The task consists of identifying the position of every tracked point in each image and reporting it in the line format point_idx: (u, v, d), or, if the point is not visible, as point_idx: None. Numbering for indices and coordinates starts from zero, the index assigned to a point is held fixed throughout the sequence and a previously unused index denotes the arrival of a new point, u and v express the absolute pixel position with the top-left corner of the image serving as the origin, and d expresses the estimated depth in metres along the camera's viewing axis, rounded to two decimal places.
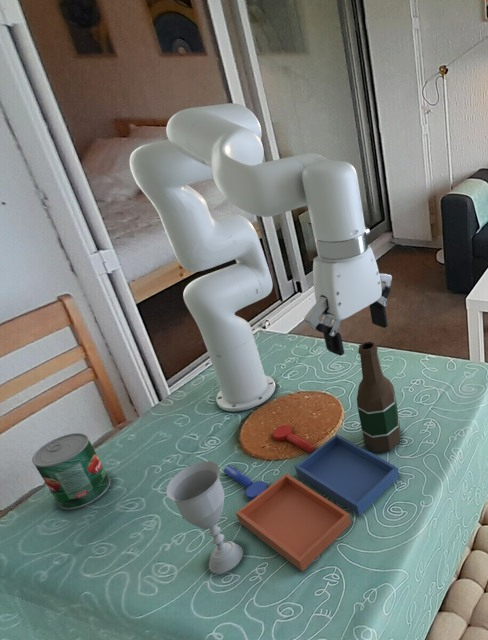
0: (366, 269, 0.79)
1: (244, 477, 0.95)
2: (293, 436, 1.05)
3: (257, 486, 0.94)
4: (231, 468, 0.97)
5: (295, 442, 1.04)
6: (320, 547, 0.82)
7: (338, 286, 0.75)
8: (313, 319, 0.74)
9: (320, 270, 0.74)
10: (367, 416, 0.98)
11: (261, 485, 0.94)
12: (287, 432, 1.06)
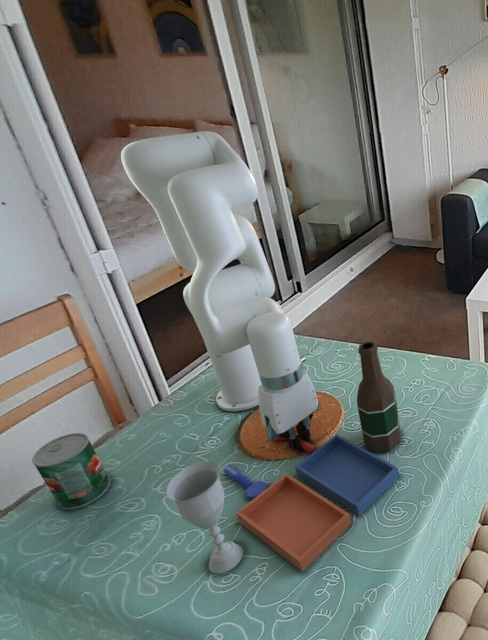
0: (302, 391, 0.98)
1: (244, 477, 0.95)
2: None
3: (257, 486, 0.94)
4: (231, 468, 0.97)
5: None
6: (320, 547, 0.82)
7: (277, 409, 0.94)
8: (273, 437, 0.97)
9: (263, 397, 0.94)
10: (367, 416, 0.98)
11: (261, 485, 0.94)
12: None
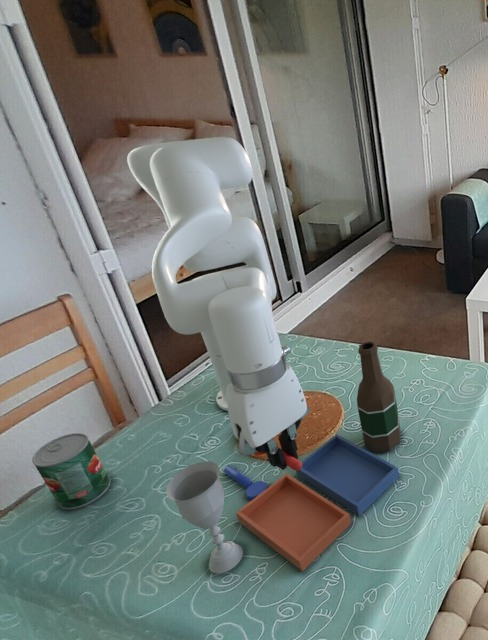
0: (285, 391, 0.75)
1: (244, 477, 0.95)
2: None
3: (257, 486, 0.94)
4: (231, 468, 0.97)
5: None
6: (320, 547, 0.82)
7: (252, 415, 0.72)
8: (247, 451, 0.74)
9: (232, 400, 0.71)
10: (367, 416, 0.98)
11: (261, 485, 0.94)
12: None
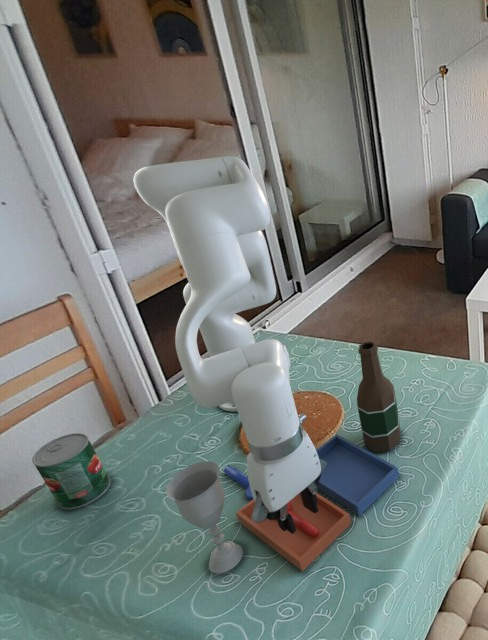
0: (302, 458, 0.80)
1: (244, 477, 0.95)
2: (293, 515, 0.87)
3: None
4: (231, 468, 0.97)
5: (296, 523, 0.86)
6: (320, 547, 0.82)
7: (271, 484, 0.76)
8: (259, 518, 0.77)
9: (252, 469, 0.75)
10: (367, 416, 0.98)
11: None
12: None
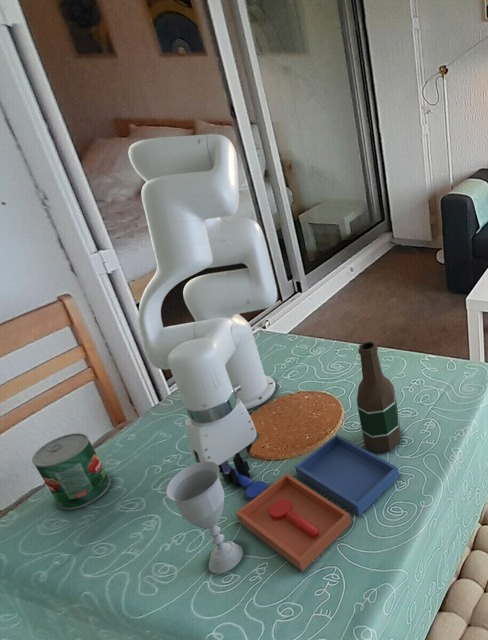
0: (236, 422, 0.91)
1: (244, 477, 0.95)
2: (293, 515, 0.87)
3: (257, 486, 0.94)
4: None
5: (296, 523, 0.86)
6: (320, 547, 0.82)
7: (206, 444, 0.87)
8: None
9: (189, 431, 0.86)
10: (367, 416, 0.98)
11: (261, 485, 0.94)
12: (286, 509, 0.89)
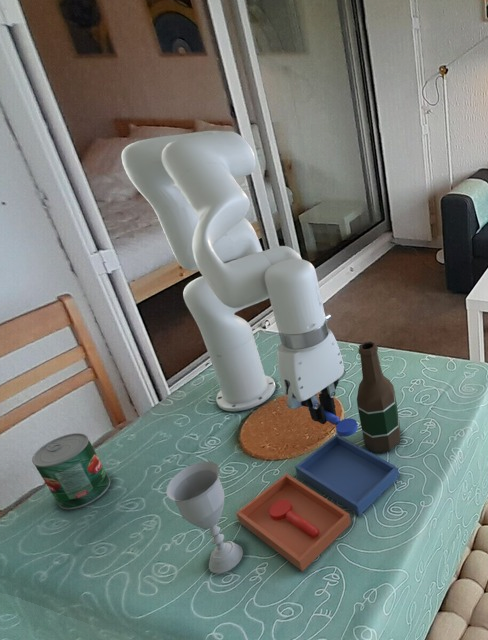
0: (327, 353, 0.86)
1: (331, 414, 0.90)
2: (293, 515, 0.87)
3: (346, 423, 0.89)
4: None
5: (296, 523, 0.86)
6: (320, 547, 0.82)
7: (300, 372, 0.82)
8: (294, 405, 0.84)
9: (283, 358, 0.81)
10: (367, 416, 0.98)
11: (351, 422, 0.89)
12: (286, 509, 0.89)
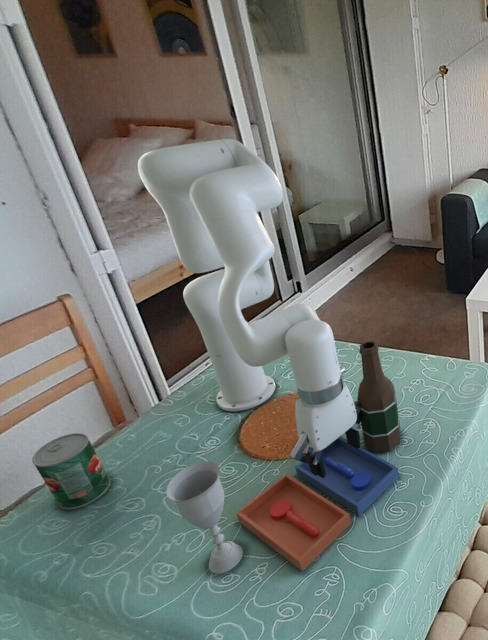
0: (342, 405, 0.91)
1: (347, 468, 0.96)
2: (293, 515, 0.87)
3: (361, 477, 0.95)
4: (332, 459, 0.98)
5: (296, 523, 0.86)
6: (320, 547, 0.82)
7: (317, 425, 0.87)
8: (297, 456, 0.87)
9: (301, 412, 0.86)
10: (367, 416, 0.98)
11: (365, 475, 0.95)
12: (286, 509, 0.89)
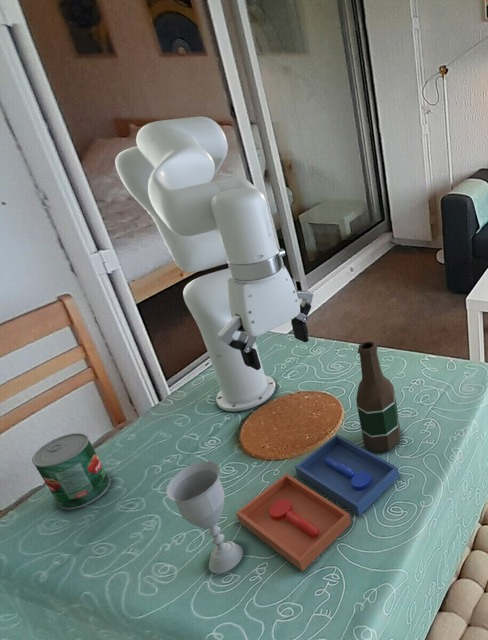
0: (280, 288, 0.83)
1: (347, 468, 0.96)
2: (293, 515, 0.87)
3: (361, 477, 0.95)
4: (332, 459, 0.98)
5: (296, 523, 0.86)
6: (320, 547, 0.82)
7: (250, 305, 0.80)
8: (226, 337, 0.79)
9: (232, 290, 0.79)
10: (366, 416, 0.98)
11: (365, 475, 0.95)
12: (286, 509, 0.89)
